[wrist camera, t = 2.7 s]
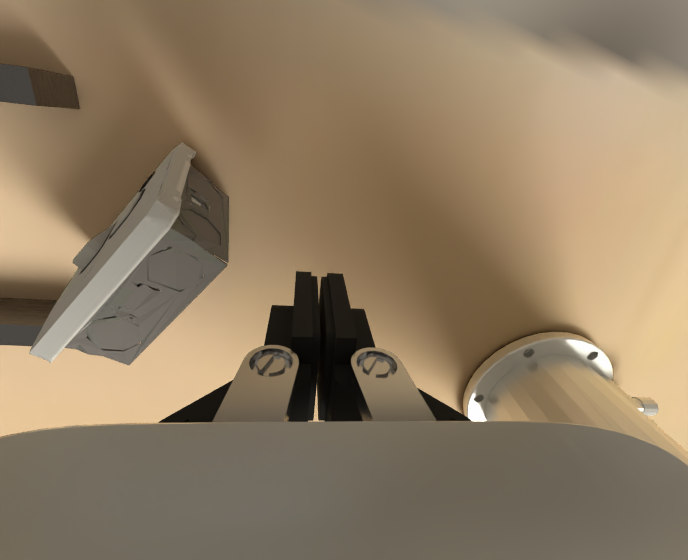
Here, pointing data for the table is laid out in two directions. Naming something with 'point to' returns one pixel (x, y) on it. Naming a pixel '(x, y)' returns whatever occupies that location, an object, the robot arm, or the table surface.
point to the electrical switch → (142, 266)
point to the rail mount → (40, 90)
